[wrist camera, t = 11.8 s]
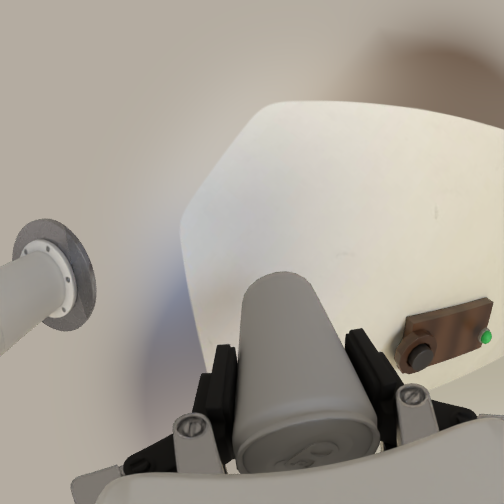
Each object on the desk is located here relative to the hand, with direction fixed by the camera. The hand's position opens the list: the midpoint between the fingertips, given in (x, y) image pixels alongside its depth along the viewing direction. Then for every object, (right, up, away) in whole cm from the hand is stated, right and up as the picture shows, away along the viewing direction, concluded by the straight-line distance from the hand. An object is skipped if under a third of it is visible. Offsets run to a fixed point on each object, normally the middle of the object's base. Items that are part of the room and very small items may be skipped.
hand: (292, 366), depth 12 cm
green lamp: (+35, -8, +20) cm, 42 cm away
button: (+22, -9, +21) cm, 31 cm away
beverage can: (0, +2, +7) cm, 7 cm away
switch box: (+28, -8, +24) cm, 38 cm away
